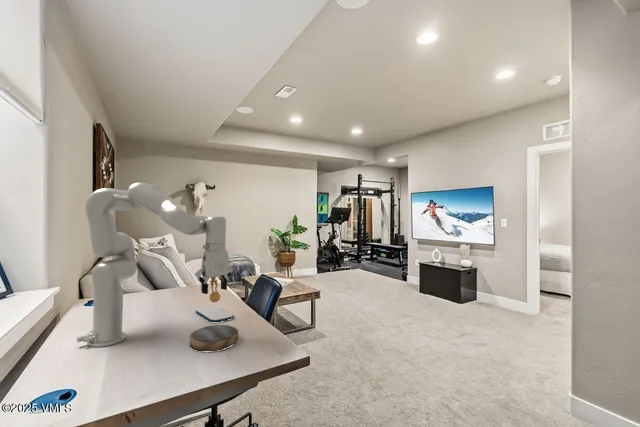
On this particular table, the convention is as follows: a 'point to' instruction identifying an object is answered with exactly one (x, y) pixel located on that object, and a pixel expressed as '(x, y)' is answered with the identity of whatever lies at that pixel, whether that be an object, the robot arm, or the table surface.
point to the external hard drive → (214, 313)
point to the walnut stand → (213, 338)
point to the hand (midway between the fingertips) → (214, 291)
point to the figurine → (215, 295)
